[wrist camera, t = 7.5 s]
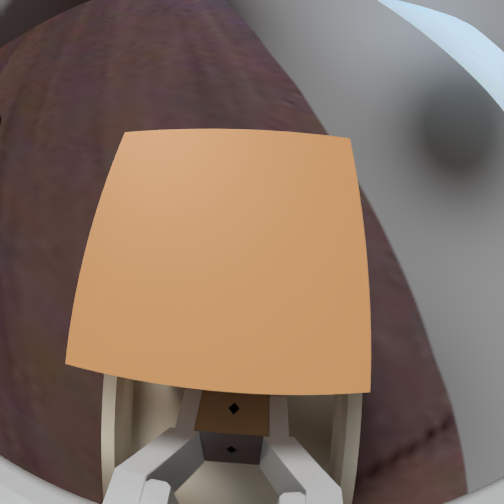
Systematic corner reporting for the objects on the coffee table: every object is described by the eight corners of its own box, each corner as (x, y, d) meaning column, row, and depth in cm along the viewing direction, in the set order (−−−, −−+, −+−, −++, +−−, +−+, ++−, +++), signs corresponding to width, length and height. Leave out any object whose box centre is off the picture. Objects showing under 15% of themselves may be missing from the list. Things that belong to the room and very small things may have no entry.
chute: (309, 596, 8) (319, 626, 5) (141, 582, 8) (123, 609, 5) (333, 209, 17) (349, 173, 14) (161, 201, 17) (144, 165, 14)
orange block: (301, 381, 12) (370, 392, 5) (165, 372, 12) (65, 364, 5) (303, 254, 15) (349, 138, 7) (180, 247, 15) (125, 132, 7)
